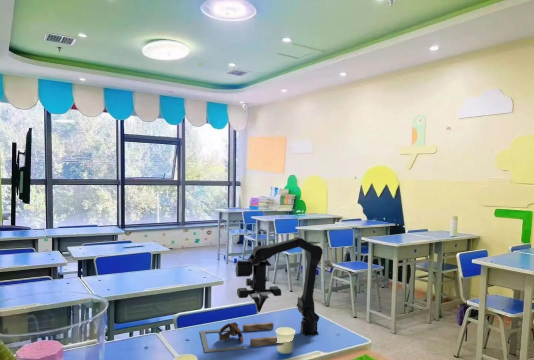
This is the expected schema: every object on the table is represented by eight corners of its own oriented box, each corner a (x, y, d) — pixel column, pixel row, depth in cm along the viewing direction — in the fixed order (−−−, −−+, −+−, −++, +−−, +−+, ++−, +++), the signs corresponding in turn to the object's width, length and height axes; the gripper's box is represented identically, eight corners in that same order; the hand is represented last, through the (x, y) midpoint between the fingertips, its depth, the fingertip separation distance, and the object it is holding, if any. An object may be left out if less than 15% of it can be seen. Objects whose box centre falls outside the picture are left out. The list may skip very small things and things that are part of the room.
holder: (272, 327, 173) (272, 322, 173) (283, 343, 156) (283, 337, 156) (242, 330, 169) (242, 324, 169) (251, 346, 152) (251, 340, 152)
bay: (235, 329, 170) (235, 328, 170) (244, 349, 150) (244, 348, 150) (199, 331, 166) (199, 331, 166) (204, 352, 145) (204, 351, 145)
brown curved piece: (243, 347, 152) (233, 331, 151) (223, 355, 154) (213, 339, 152) (247, 329, 164) (238, 314, 162) (228, 336, 166) (219, 321, 164)
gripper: (274, 270, 173) (273, 304, 172) (234, 272, 168) (234, 307, 167) (282, 276, 162) (281, 312, 162) (239, 278, 157) (238, 315, 157)
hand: (258, 311), depth 162 cm, fingers closed
